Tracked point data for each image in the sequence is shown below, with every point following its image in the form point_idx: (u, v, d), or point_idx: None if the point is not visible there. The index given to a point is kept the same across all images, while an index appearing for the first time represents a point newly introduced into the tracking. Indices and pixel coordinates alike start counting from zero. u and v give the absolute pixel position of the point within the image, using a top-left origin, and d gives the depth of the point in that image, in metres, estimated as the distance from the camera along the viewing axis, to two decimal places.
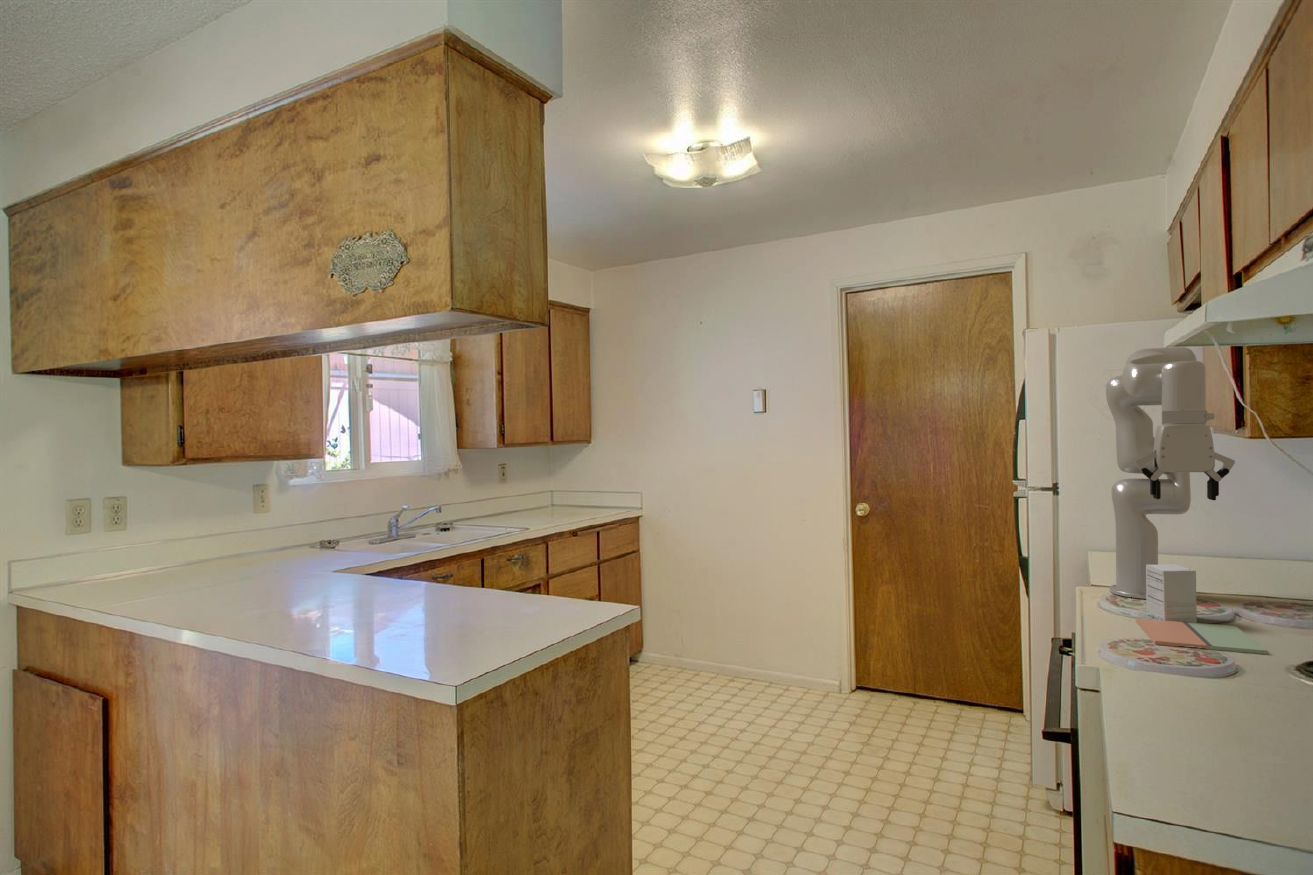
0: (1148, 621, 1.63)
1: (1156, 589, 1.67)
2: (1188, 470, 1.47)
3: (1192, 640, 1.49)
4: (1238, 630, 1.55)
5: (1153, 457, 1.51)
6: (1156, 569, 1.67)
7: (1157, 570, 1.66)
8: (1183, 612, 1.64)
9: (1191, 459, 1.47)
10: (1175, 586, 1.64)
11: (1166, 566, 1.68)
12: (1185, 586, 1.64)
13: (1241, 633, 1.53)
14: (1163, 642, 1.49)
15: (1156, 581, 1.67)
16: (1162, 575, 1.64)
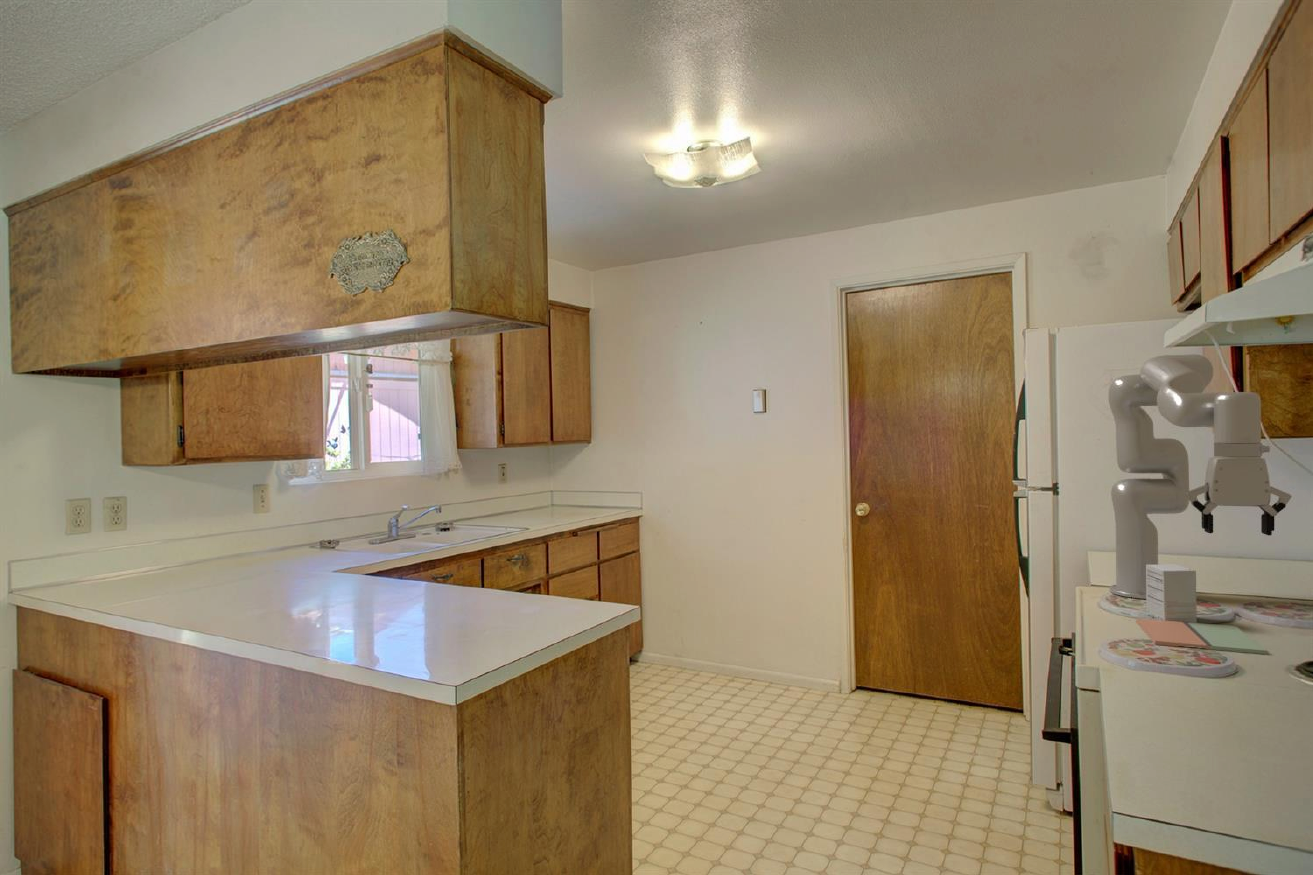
0: (1148, 621, 1.63)
1: (1156, 589, 1.67)
2: (1242, 504, 1.44)
3: (1192, 640, 1.49)
4: (1238, 630, 1.55)
5: (1205, 490, 1.47)
6: (1156, 569, 1.67)
7: (1157, 570, 1.66)
8: (1183, 612, 1.64)
9: (1246, 493, 1.43)
10: (1175, 586, 1.64)
11: (1166, 566, 1.68)
12: (1185, 586, 1.64)
13: (1241, 633, 1.53)
14: (1163, 642, 1.49)
15: (1156, 581, 1.67)
16: (1162, 575, 1.64)
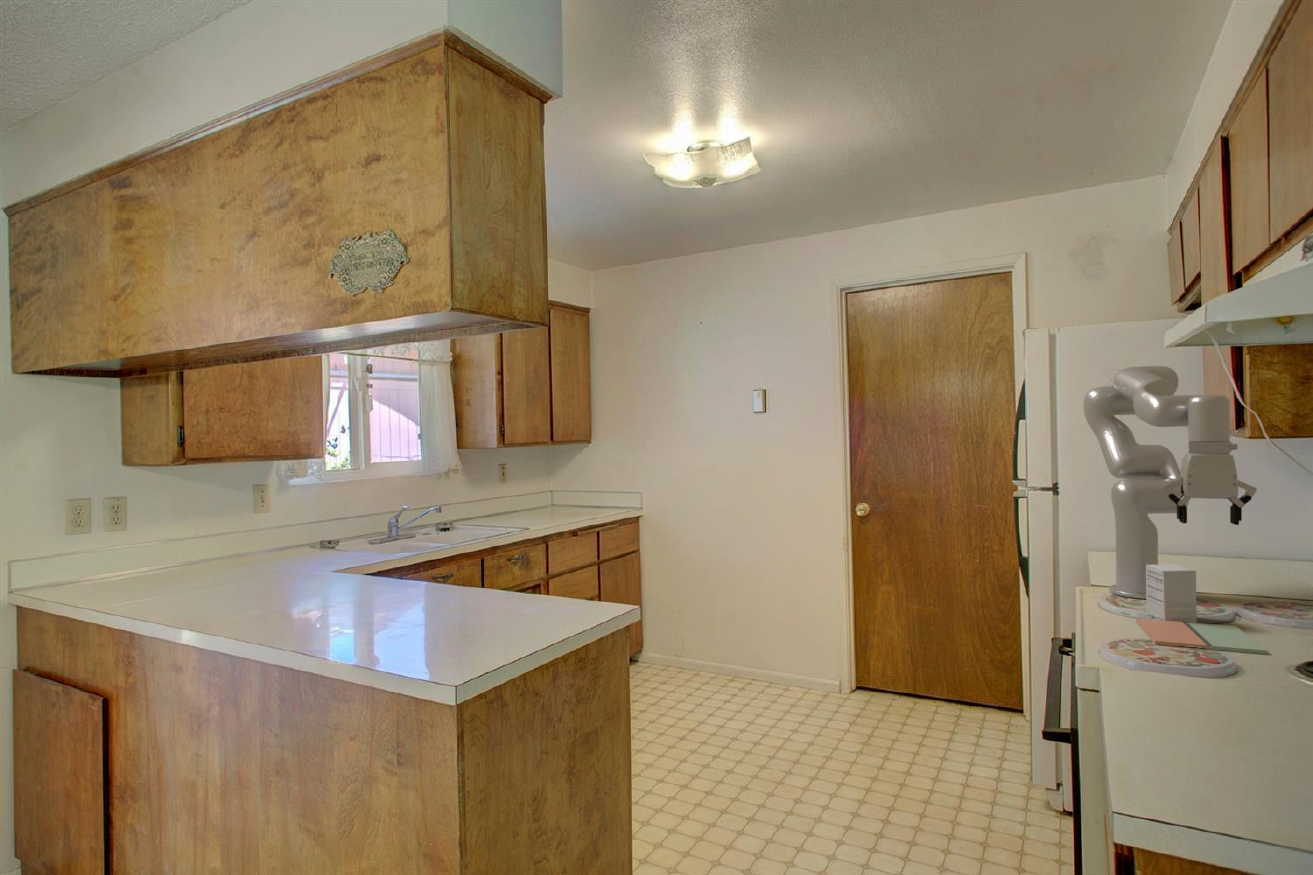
0: (1148, 621, 1.63)
1: (1156, 589, 1.67)
2: (1213, 497, 1.58)
3: (1192, 640, 1.49)
4: (1238, 630, 1.55)
5: (1180, 484, 1.62)
6: (1156, 569, 1.67)
7: (1157, 570, 1.66)
8: (1183, 612, 1.64)
9: (1216, 487, 1.58)
10: (1175, 586, 1.64)
11: (1166, 566, 1.68)
12: (1185, 586, 1.64)
13: (1241, 633, 1.53)
14: (1163, 642, 1.49)
15: (1156, 581, 1.67)
16: (1162, 575, 1.64)
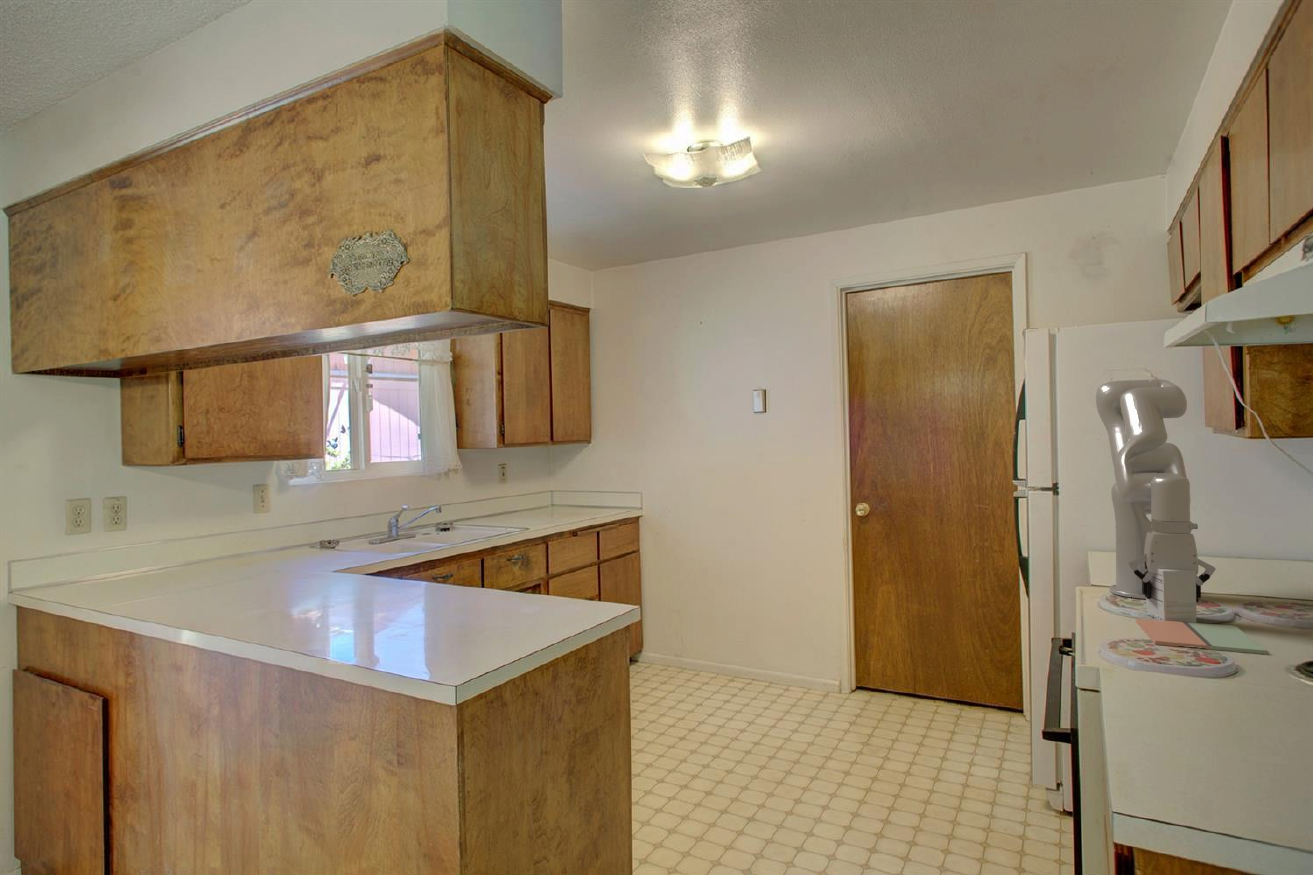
0: (1148, 621, 1.63)
1: (1156, 589, 1.67)
2: None
3: (1192, 640, 1.49)
4: (1238, 630, 1.55)
5: (1144, 560, 1.69)
6: None
7: (1157, 570, 1.66)
8: (1183, 612, 1.64)
9: (1177, 565, 1.65)
10: (1175, 586, 1.64)
11: None
12: (1184, 586, 1.64)
13: (1241, 633, 1.53)
14: (1163, 642, 1.49)
15: (1156, 581, 1.67)
16: (1162, 575, 1.64)
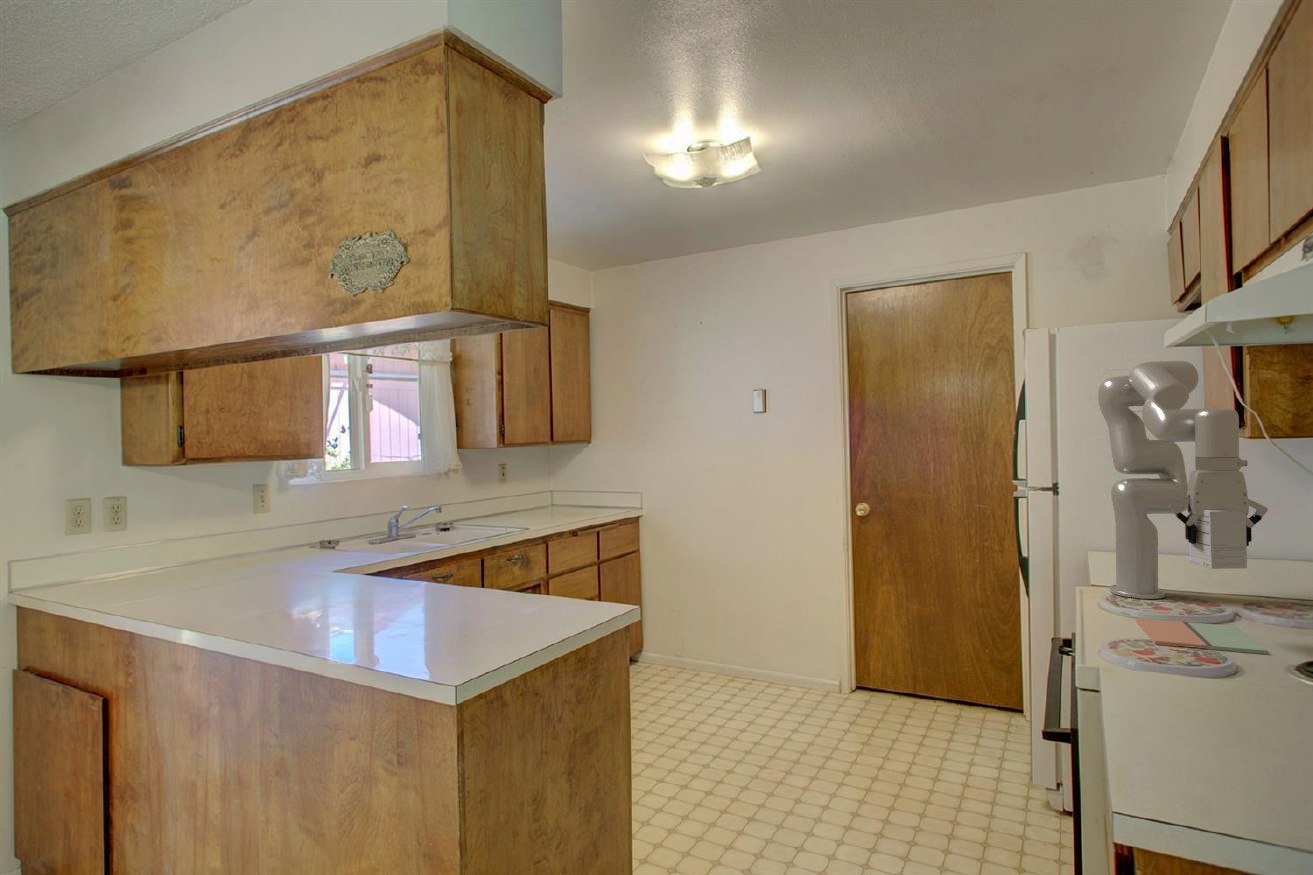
0: (1148, 621, 1.63)
1: (1201, 532, 1.53)
2: None
3: (1192, 640, 1.49)
4: (1238, 630, 1.55)
5: (1187, 502, 1.55)
6: None
7: (1202, 511, 1.52)
8: (1232, 556, 1.49)
9: (1225, 505, 1.51)
10: (1223, 528, 1.50)
11: None
12: (1234, 528, 1.49)
13: (1241, 633, 1.53)
14: (1163, 642, 1.49)
15: (1202, 523, 1.53)
16: (1208, 516, 1.50)
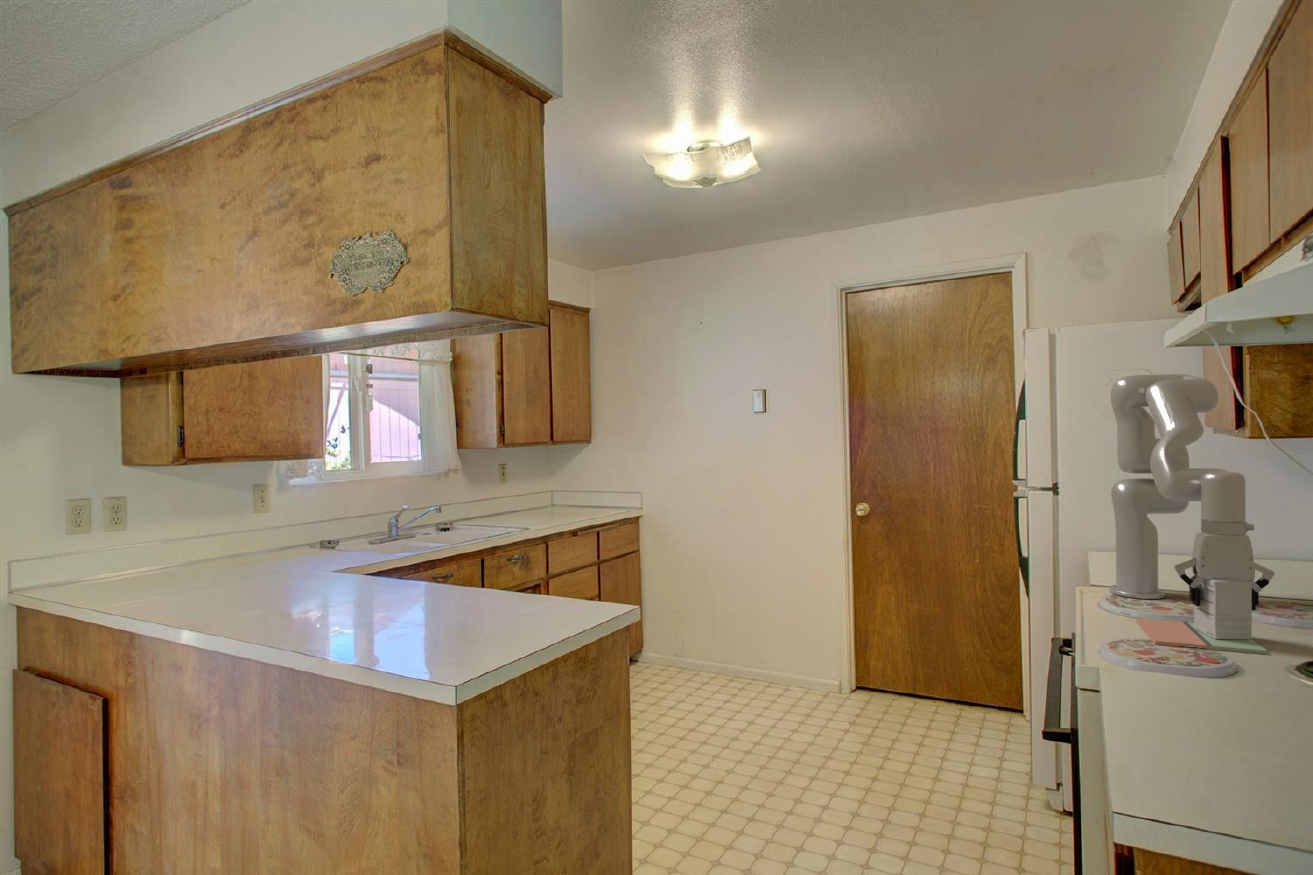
0: (1148, 621, 1.63)
1: (1206, 601, 1.52)
2: None
3: (1192, 640, 1.49)
4: None
5: (1193, 564, 1.53)
6: None
7: (1207, 580, 1.51)
8: (1236, 627, 1.49)
9: (1231, 570, 1.49)
10: (1228, 599, 1.49)
11: None
12: (1239, 598, 1.49)
13: None
14: (1163, 642, 1.49)
15: (1207, 592, 1.52)
16: (1213, 586, 1.50)
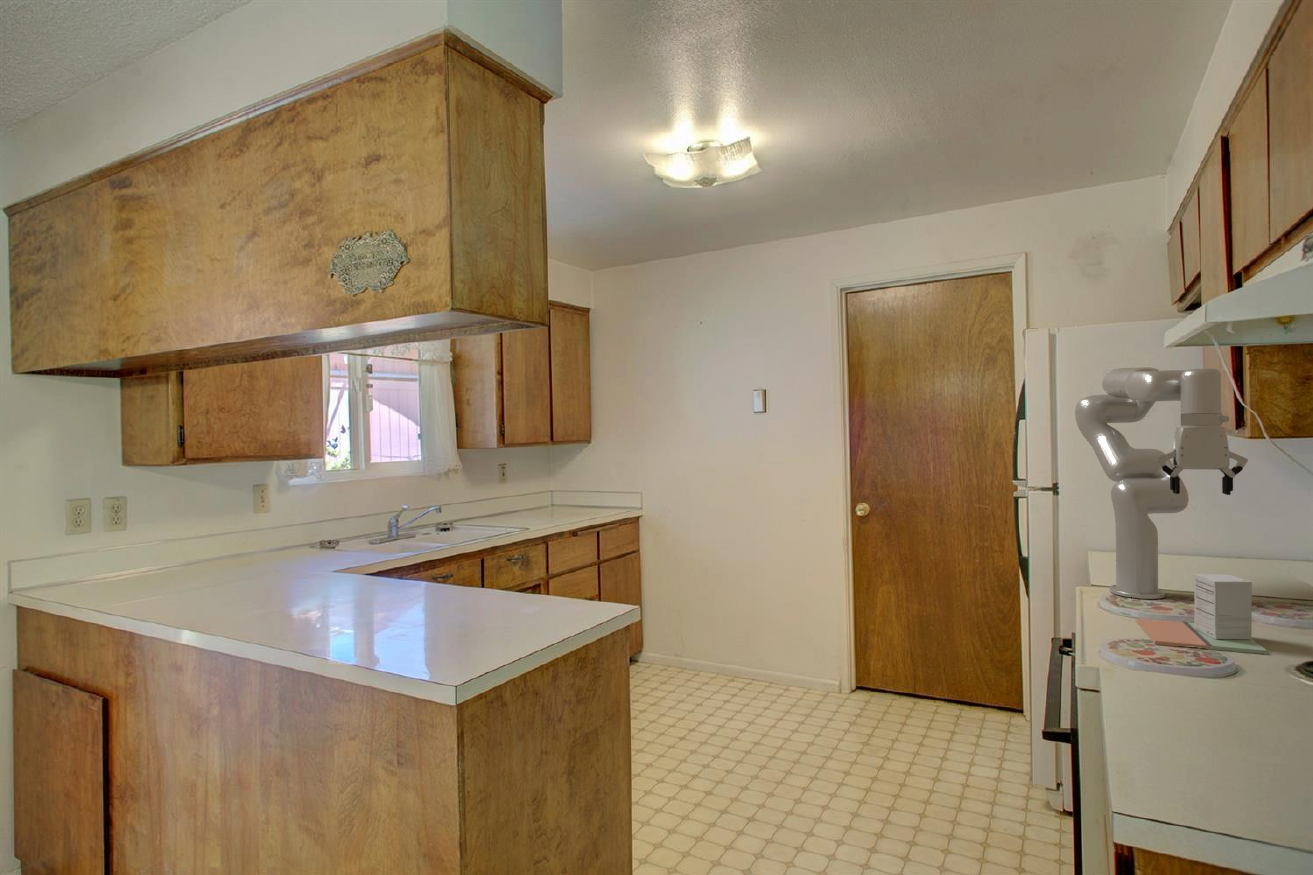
0: (1148, 621, 1.63)
1: (1206, 601, 1.52)
2: (1205, 467, 1.62)
3: (1192, 640, 1.49)
4: None
5: (1173, 456, 1.66)
6: (1206, 579, 1.52)
7: (1207, 580, 1.51)
8: (1236, 627, 1.49)
9: (1208, 458, 1.62)
10: (1228, 599, 1.49)
11: (1217, 576, 1.53)
12: (1239, 599, 1.49)
13: None
14: (1163, 642, 1.49)
15: (1207, 592, 1.52)
16: (1213, 586, 1.50)
